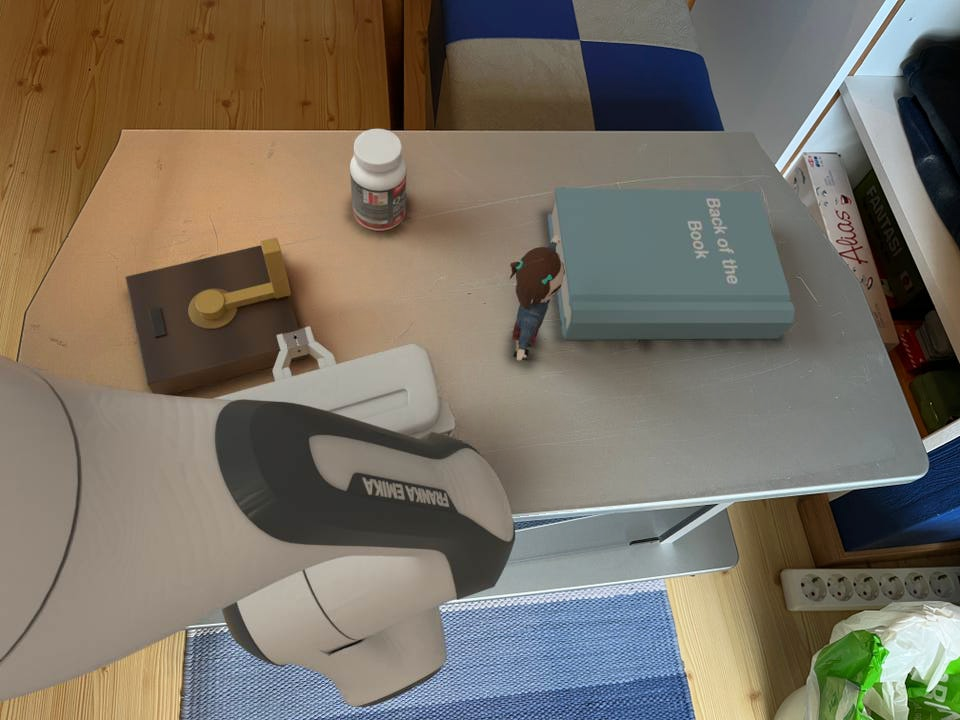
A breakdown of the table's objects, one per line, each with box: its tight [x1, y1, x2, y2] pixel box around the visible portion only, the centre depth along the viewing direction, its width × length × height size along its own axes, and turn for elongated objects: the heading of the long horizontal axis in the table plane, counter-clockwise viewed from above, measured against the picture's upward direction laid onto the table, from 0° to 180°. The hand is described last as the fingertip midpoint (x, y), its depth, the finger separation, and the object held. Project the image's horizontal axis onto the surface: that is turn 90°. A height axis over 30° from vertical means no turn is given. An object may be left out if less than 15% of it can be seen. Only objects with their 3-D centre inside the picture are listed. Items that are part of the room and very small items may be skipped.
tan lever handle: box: [195, 237, 292, 320], centre depth 67 cm, size 9×3×7 cm, turn 111°
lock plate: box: [125, 244, 307, 396], centre depth 71 cm, size 14×12×3 cm
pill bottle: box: [349, 128, 407, 232], centre depth 77 cm, size 6×6×10 cm
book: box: [546, 187, 795, 340], centre depth 78 cm, size 23×16×5 cm
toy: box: [509, 235, 565, 362], centre depth 68 cm, size 14×5×15 cm, turn 164°
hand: (293, 333), depth 63 cm, fingers closed
